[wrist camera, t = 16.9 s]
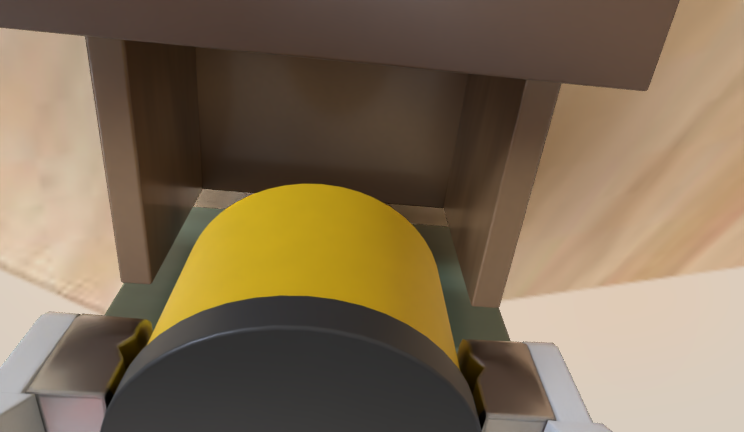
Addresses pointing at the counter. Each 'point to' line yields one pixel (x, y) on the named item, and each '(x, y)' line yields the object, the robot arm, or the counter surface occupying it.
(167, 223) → the drawer
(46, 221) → the counter surface
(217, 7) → the cabinet
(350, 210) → the jar
